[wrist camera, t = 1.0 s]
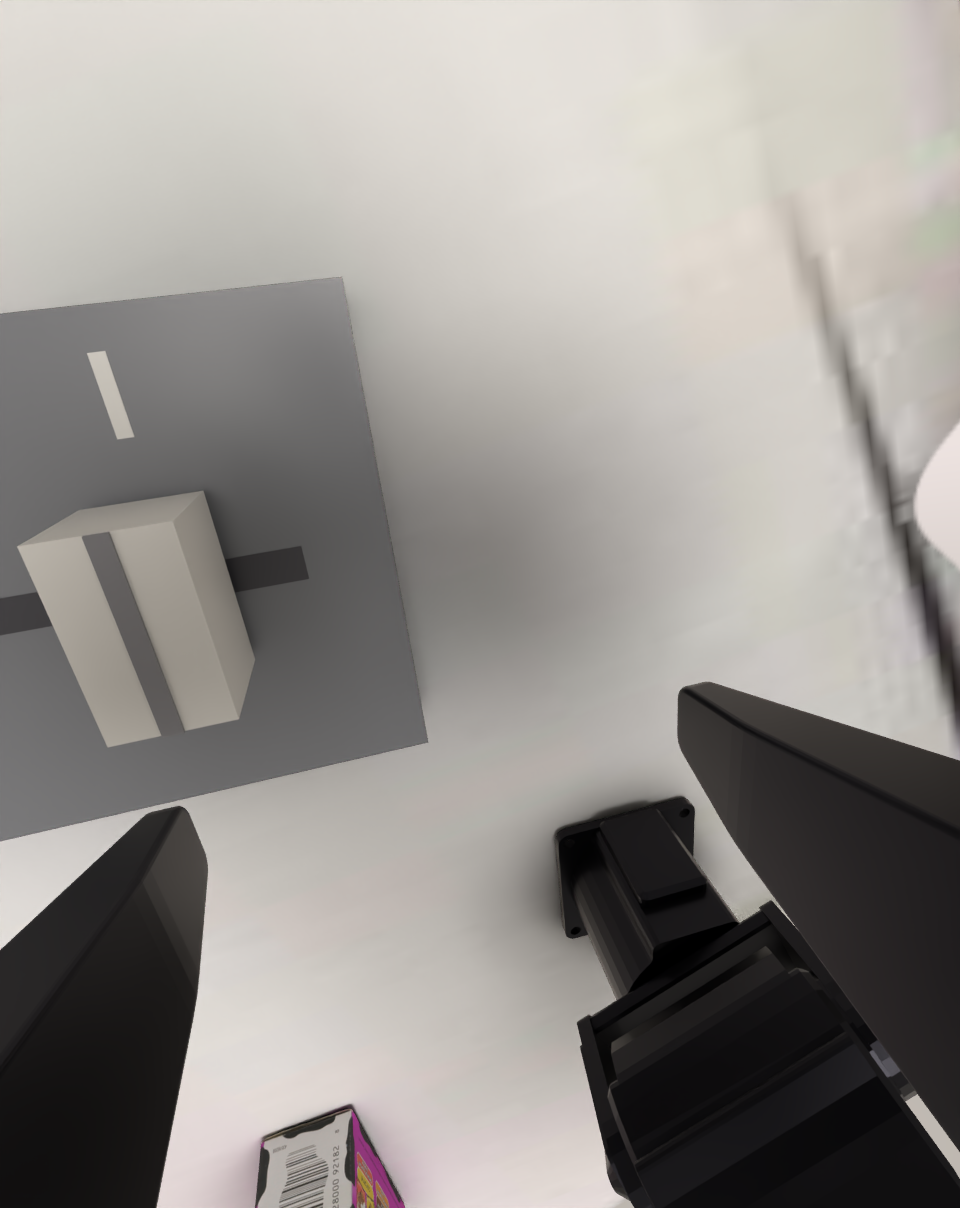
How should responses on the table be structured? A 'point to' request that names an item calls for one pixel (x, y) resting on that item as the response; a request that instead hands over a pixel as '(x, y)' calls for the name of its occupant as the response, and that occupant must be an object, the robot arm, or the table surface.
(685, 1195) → the robot arm
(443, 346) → the table surface
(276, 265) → the table surface
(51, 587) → the fader knob
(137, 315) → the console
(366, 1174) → the candy bar box
